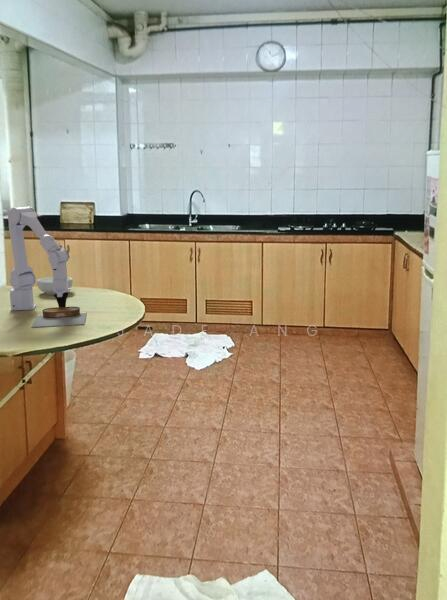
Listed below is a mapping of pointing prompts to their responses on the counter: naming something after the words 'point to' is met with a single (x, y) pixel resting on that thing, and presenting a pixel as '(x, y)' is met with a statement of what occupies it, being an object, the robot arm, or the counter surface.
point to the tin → (61, 312)
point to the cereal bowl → (50, 284)
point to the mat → (59, 321)
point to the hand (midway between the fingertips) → (62, 310)
